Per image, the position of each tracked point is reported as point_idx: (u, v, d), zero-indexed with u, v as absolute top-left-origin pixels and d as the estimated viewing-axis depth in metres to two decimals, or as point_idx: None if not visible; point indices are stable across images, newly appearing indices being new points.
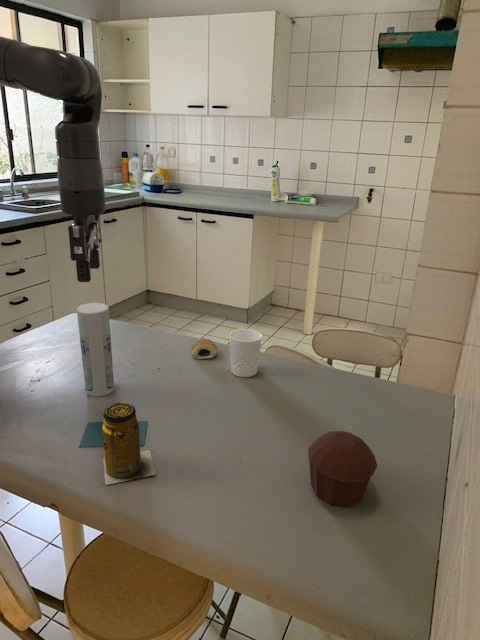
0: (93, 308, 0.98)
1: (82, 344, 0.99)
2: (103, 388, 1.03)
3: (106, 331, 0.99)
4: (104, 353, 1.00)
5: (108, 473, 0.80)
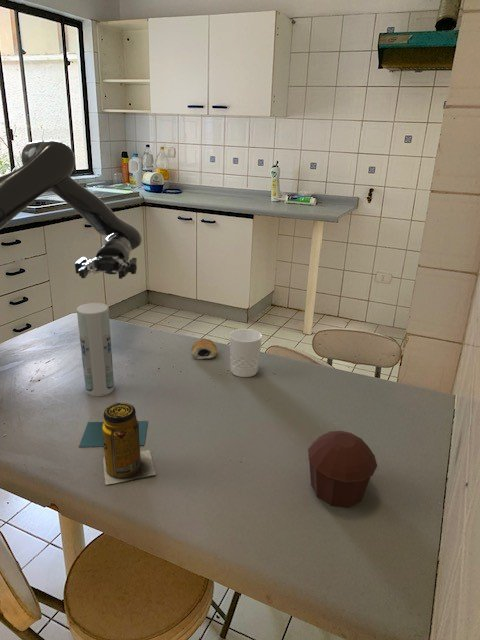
0: (93, 308, 0.98)
1: (82, 344, 0.99)
2: (103, 388, 1.03)
3: (106, 331, 0.99)
4: (104, 353, 1.00)
5: (108, 473, 0.80)
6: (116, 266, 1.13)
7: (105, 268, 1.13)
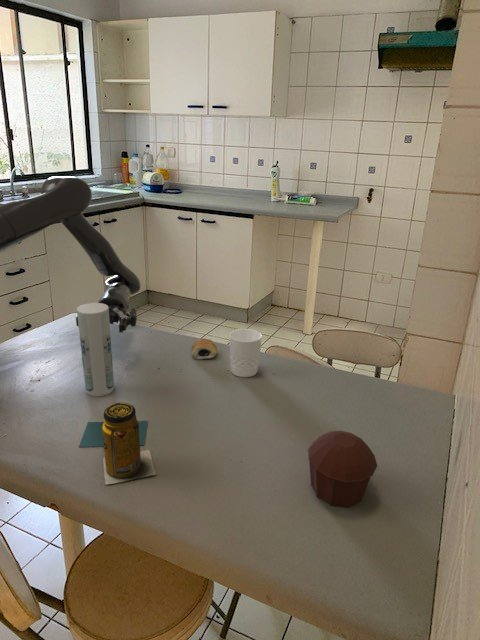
0: (93, 308, 0.98)
1: (82, 344, 0.99)
2: (103, 388, 1.03)
3: (106, 331, 0.99)
4: (104, 353, 1.00)
5: (108, 473, 0.80)
6: (116, 318, 1.15)
7: None
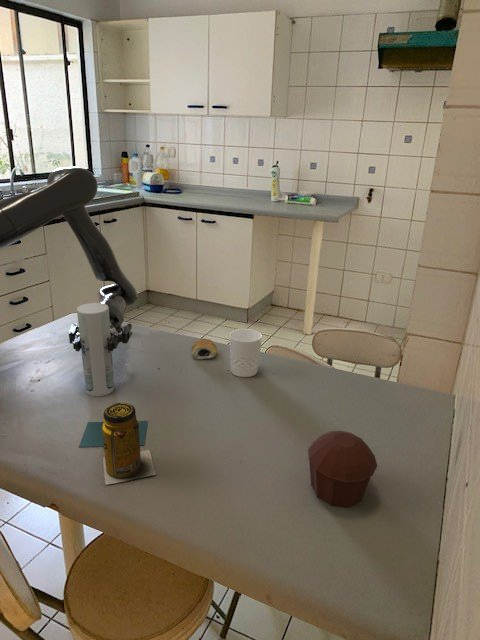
0: (93, 308, 0.98)
1: (82, 344, 0.99)
2: (103, 388, 1.03)
3: (106, 331, 0.99)
4: (104, 353, 1.00)
5: (108, 473, 0.80)
6: None
7: None
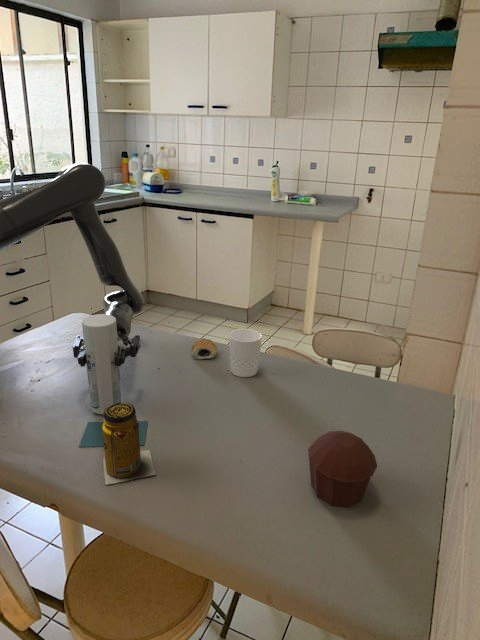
0: (99, 320, 0.91)
1: (88, 359, 0.92)
2: None
3: (113, 345, 0.92)
4: (111, 369, 0.93)
5: (108, 473, 0.80)
6: None
7: None
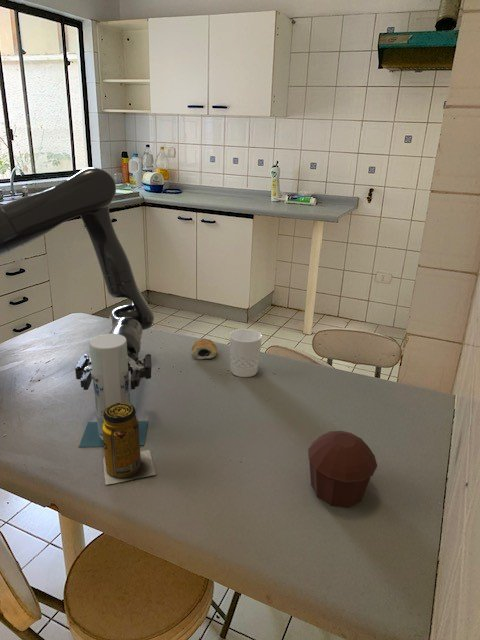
0: (108, 341, 0.83)
1: (95, 383, 0.84)
2: None
3: (123, 367, 0.84)
4: (121, 394, 0.85)
5: (108, 473, 0.80)
6: None
7: None
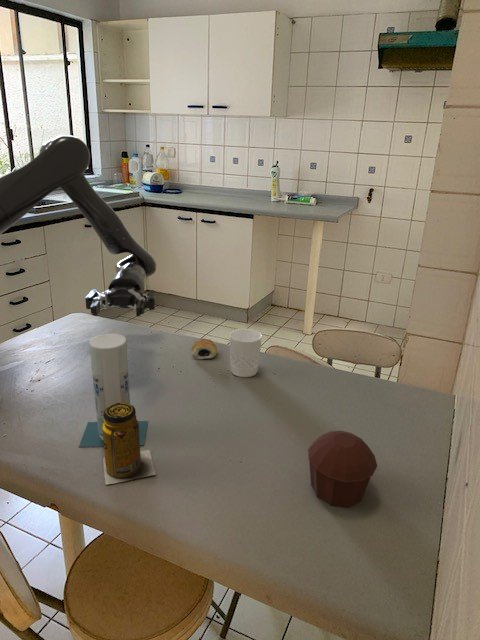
0: (108, 341, 0.83)
1: (95, 383, 0.84)
2: None
3: (123, 367, 0.84)
4: (121, 393, 0.85)
5: (108, 473, 0.80)
6: (132, 300, 0.99)
7: (119, 303, 0.99)
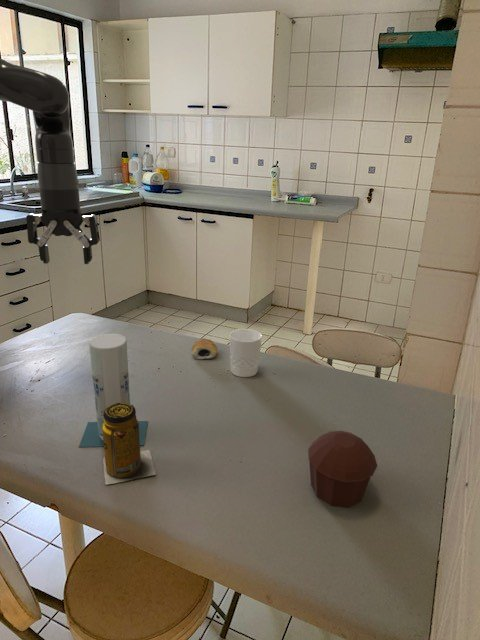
0: (108, 341, 0.83)
1: (95, 383, 0.84)
2: None
3: (123, 367, 0.84)
4: (121, 393, 0.85)
5: (108, 473, 0.80)
6: None
7: None
